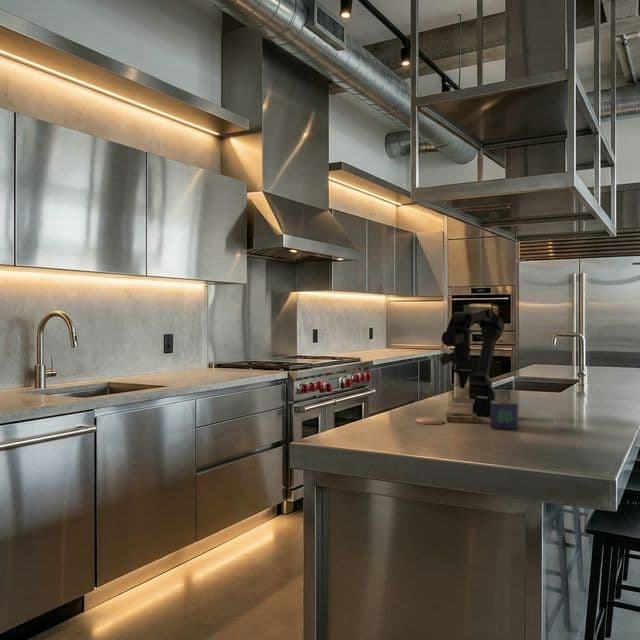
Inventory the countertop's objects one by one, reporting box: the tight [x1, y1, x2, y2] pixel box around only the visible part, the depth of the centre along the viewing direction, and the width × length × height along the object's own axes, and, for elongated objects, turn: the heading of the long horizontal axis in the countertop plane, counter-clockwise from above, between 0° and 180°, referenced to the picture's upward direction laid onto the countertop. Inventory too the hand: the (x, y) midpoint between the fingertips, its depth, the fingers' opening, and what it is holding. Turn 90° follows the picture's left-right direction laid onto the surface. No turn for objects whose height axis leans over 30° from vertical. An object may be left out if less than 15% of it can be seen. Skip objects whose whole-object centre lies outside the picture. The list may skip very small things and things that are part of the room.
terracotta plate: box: [414, 416, 444, 426], centre depth 225 cm, size 10×10×1 cm
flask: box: [489, 397, 519, 431], centre depth 213 cm, size 9×3×11 cm, turn 88°
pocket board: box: [445, 411, 479, 424], centre depth 231 cm, size 11×11×2 cm
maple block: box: [453, 371, 470, 399], centre depth 231 cm, size 5×4×9 cm
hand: (461, 387), depth 231 cm, fingers closed on maple block, 4 cm apart
